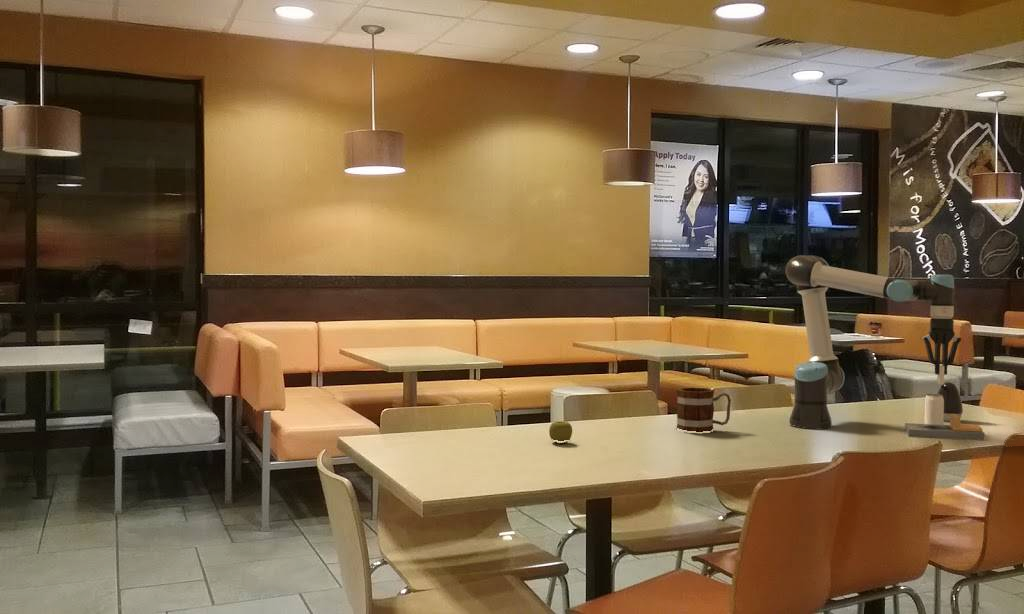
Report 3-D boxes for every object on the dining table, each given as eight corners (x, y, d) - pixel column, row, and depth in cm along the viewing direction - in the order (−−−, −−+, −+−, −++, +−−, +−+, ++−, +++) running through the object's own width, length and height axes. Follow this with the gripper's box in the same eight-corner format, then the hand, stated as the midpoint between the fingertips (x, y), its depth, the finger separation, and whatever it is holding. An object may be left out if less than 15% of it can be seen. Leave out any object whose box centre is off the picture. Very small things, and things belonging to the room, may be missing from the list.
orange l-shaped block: (953, 430, 319) (954, 417, 319) (950, 426, 328) (950, 413, 328) (982, 431, 317) (982, 418, 316) (977, 427, 325) (978, 414, 325)
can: (939, 425, 345) (940, 393, 344) (946, 428, 339) (946, 396, 338) (921, 425, 346) (922, 393, 345) (927, 428, 339) (928, 395, 339)
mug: (679, 434, 326) (679, 392, 325) (673, 427, 339) (673, 387, 339) (734, 434, 325) (734, 392, 325) (726, 427, 339) (727, 387, 338)
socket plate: (908, 436, 322) (908, 429, 322) (904, 429, 335) (904, 423, 335) (984, 440, 314) (984, 433, 314) (977, 433, 328) (977, 426, 327)
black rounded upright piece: (928, 420, 357) (929, 381, 356) (941, 417, 363) (942, 379, 363) (954, 423, 349) (955, 384, 348) (967, 421, 355) (968, 382, 355)
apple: (563, 446, 302) (563, 424, 302) (544, 443, 307) (544, 422, 307) (576, 443, 308) (577, 422, 308) (558, 440, 313) (558, 419, 313)
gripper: (925, 318, 322) (924, 384, 323) (964, 318, 320) (963, 385, 321) (919, 317, 330) (918, 382, 331) (957, 317, 328) (956, 382, 329)
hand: (940, 383), depth 326 cm, fingers closed
